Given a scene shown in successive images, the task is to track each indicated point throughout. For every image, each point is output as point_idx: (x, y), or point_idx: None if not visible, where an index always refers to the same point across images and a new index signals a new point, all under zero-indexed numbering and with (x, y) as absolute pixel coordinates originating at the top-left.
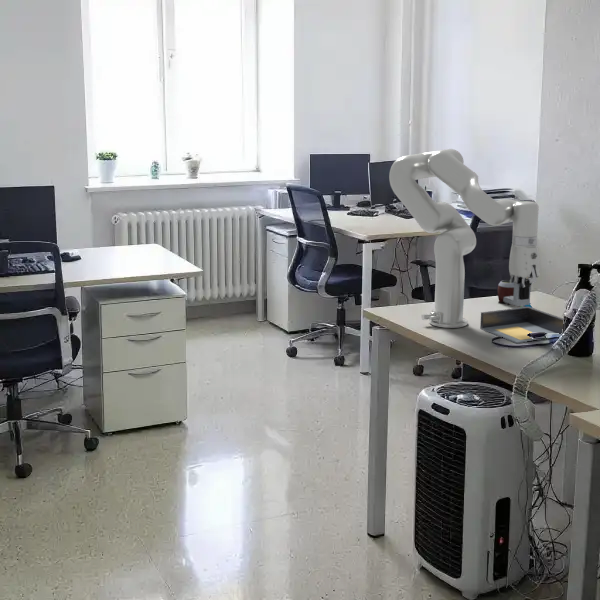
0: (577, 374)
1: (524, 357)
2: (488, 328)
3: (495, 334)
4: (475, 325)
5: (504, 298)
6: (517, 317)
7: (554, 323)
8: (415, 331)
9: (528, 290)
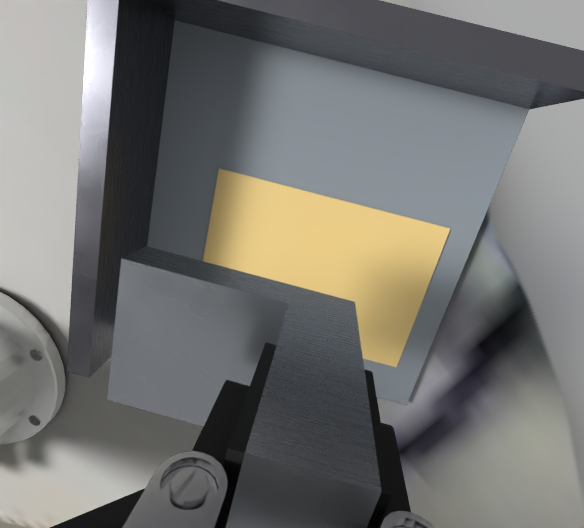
0: None
1: (546, 523)
2: None
3: None
4: (65, 294)
5: (128, 397)
6: (145, 102)
7: (461, 77)
8: (31, 522)
9: (403, 493)
